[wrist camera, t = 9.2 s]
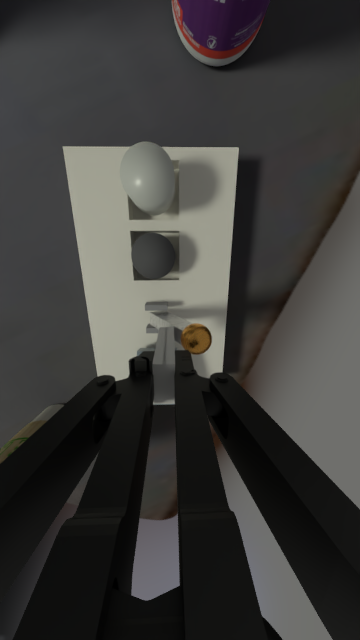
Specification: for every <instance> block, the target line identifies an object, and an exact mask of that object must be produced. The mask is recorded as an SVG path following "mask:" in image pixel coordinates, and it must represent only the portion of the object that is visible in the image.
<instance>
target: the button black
mask: <svg viewBox="0 0 360 640" xmlns="http://www.w3.org/2000/svg"><path fill="white" fill-rule="evenodd" d="M175 257H176V256H175V250H174V247H173V245H172V244H171V242H170V241H169V240H168V239H167V238H166V237H165V236H163V235H161V234H158V233H146V234H144V235H142V236H140V237H139V238H138V239H137V240H136V241H135V243H134V245H133V247H132V251H131V259H132V263H133V265H134V267H135V269H136V270H137V271H138V272H139V273H140V274H141V275H143V276H144V277H147V278H150V279H158V278H162V277H164V276H166V275H167V274H168V273H169V272H170V271H171V270H172V268H173V266H174V263H175Z"/></svg>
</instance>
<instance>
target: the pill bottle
mask: <svg viewBox="0 0 360 640" xmlns="http://www.w3.org/2000/svg"><path fill="white" fill-rule="evenodd" d="M269 3H270V0H172V10H173V16H174V21H175V25H176V28H177V31H178V34H179V36H180V39H181V41H182V42H183V44H184V46H185V47H186V49H187V50H188V51H189V53H190V54H191V55H192V56H193V57H194V58H196V59H197V60H198V61H200V62H202V63H204V64H206V65H210V66H223V65H226V64H229V63H231V62H233V61H235V60H236V59H238V58H239V57H240V56H241V55H242V54H243V53H244V52H245V51H246V50H247V49H248V47H249V46H250V45H251V43H252V42H253V40H254V39H255V37H256V35H257V33H258V31H259V29H260V27H261V24H262V21H263V19H264V16H265V14H266V11H267V8H268V5H269Z"/></svg>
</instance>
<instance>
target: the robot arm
mask: <svg viewBox="0 0 360 640" xmlns="http://www.w3.org/2000/svg"><path fill="white" fill-rule="evenodd" d="M153 402H154V404H175V426H176V462H177V498H178V534H179V570H180V571H179V572H180V586H178V587H177V588H174V589H172V590H170V591H168V592H166V593H164V594H162V595H160V596H158V597H156V598H154V599H152V600H148V601H145V600H141V599H139V598H136V597H134V596H131V589H132V572H133V563H134V556H135V548H136V541H137V533H138V525H139V518H140V510H141V502H142V495H143V487H144V480H145V472H146V464H147V457H148V449H149V442H150V434H151V426H152V419H153V411H154V408H153ZM207 415H208V417H207ZM208 419H209V421H210V423H211V425H212V426H213V428H214V430H215V432H216V433H217V435H218V437H219V439H220V441H221V442H222V444H223V446H224V448H225V449H226V451H227V453H228V455H229V457H230V459H231V460H232V462H233V464H234V465H235V467H236V469H237V471H238V473H239V474H240V476H241V478H242V480H243V481H244V484H245V485H246V487H247V489H248V490H249V492H250V494H251V496H252V498H253V499H254V501H255V503H256V505H257V507H258V508H259V510H260V512H261V514H262V516H263V517H264V519H265V521H266V523H267V525H268V526H269V528H270V530H271V532H272V533H273V535H274V537H275V539H276V541H277V543H278V544H279V546H280V548H281V550H282V551H283V553H284V555H285V557H286V559H287V560H288V562H289V564H290V566H291V568H292V569H293V571H294V573H295V575H296V576H297V578H298V580H299V582H300V584H301V585H302V587H303V589H304V591H305V593H306V594H307V596H308V598H309V600H310V601H311V603H312V605H313V607H314V608H315V610H316V612H317V614H318V616H319V617H320V619H321V621H322V622H323V624H324V626H325V627H326V629H327V631H328V632H329V634H330V636H331V637H332V639H333V640H360V509H359V508H358V507H357V506H356V505H355V504H354V503H353V502H352V501H351V500H350V499H349V498H348V497H347V496H346V495H345V494H344V493H343V492H342V491H341V490H340V489H339V488H338V487H337V485H336V484H335V483H334V482H333V481H332V480H331V479H330V478H329V477H328V476H327V475H326V474H325V473H324V472H323V471H322V470H321V469H320V468H319V467H318V466H317V465H316V464H315V463H314V462H313V461H312V460H311V458H310V457H309V456H308V455H307V454H306V453H305V452H304V451H303V450H302V449H301V448H300V447H299V446H298V445H297V444H296V443H295V442H294V441H293V440H292V439H291V438H290V437H289V436H288V435H287V433H286V432H285V431H284V430H283V429H282V428H281V427H280V426H279V425H278V424H277V423H276V422H275V421H274V420H273V419H272V418H271V417H270V416H269V415H268V414H267V413H266V412H265V411H264V410H263V409H262V408H261V406H259V404H258V403H257V402H255V400H254V399H253V398H252V397H251V396H250V395H249V394H248V393H247V392H246V391H245V390H244V389H243V388H242V387H241V386H240V385H239V384H238V383H237V382H236V381H235V379H234V378H233V377H231V376H230V375H229V374H226V373H222V372H217V373H213V374H212V375H210V378H205V377H201V376H199V375H198V374H197V371H196V370H195V369H194V366H193V361H192V356H191V353H190V352H189V351H188V350H175V345H174V327H159V332H158V337H157V343H156V348H155V351H143V352H142V353H141V354H140V355H139V356H136V357H133V358H131V359H130V360H129V376H128V378H126V379H122V380H118V381H115V377H113V376H111V375H101V376H99V377H96V378H94V379H93V380H92V381H91V382H89V383H88V384H87V385H86V386H85V387H84V388H83V389H82V390H81V391H80V392H78V393H77V394H76V395H75V396H74V397H73V398H72V399H71V400H70V401H69V402H67V403H66V404H65V405H64V406H63V407H62V408H61V409H60V410H59V411H58V412H57V413H55V414H54V415H53V416H52V417H51V418H50V419H49V420H48V421H47V422H46V423H44V424H43V425H42V426H41V427H40V428H39V429H38V430H37V431H36V432H35V433H33V434H32V435H31V436H30V437H29V438H28V439H27V440H26V441H25V442H24V443H22V444H21V445H20V446H19V447H18V448H17V449H16V450H15V451H14V452H13V453H11V454H10V455H9V456H8V457H7V458H6V459H5V460H4V461H3V462H2V463H1V464H0V602H1V601H2V599H3V598H4V596H5V595H6V593H7V592H8V590H9V589H10V587H11V586H12V584H13V583H14V581H15V579H16V578H17V576H18V575H19V573H20V572H21V570H22V569H23V567H24V565H25V564H26V563H27V561H28V560H29V558H30V556H31V555H32V553H33V552H34V550H35V549H36V547H37V546H38V544H39V542H40V541H41V540H42V538H43V536H44V535H45V533H46V532H47V530H48V529H49V527H50V526H51V524H52V522H53V521H54V520H55V518H56V517H57V515H58V514H59V512H60V510H61V509H62V507H63V506H64V504H65V503H66V501H67V500H68V498H69V497H70V495H71V494H72V492H73V490H74V489H75V487H76V486H77V484H78V483H79V481H80V480H81V478H82V477H83V475H84V474H85V472H86V471H87V469H88V467H89V466H90V464H91V463H92V461H93V460H94V458H95V457H96V455H97V454H98V452H99V454H98V457H97V459H96V462H95V464H94V467H93V470H92V472H91V475H90V477H89V480H88V482H87V485H86V488H85V490H84V493H83V495H82V498H81V501H80V503H79V506H78V508H77V511H76V513H75V515H74V516H73V517H72V518H70V519H67V520H66V521H65V522H64V524H63V525H62V526H61V528H60V530H59V532H58V535H57V536H56V539H55V541H54V544H53V546H52V548H51V551H50V553H49V556H48V558H47V560H46V563H45V565H44V567H43V569H42V572H41V574H40V577H39V579H38V581H37V584H36V586H35V588H34V591H33V593H32V595H31V598H30V600H29V603H28V605H27V607H26V610H25V612H24V614H23V617H22V619H21V622H20V624H19V626H18V629H17V631H16V633H15V636H14V638H13V640H282V638H281V637H280V636H279V634H278V633H277V632H276V631H275V630H274V628H272V626H271V625H270V624H269V623H268V622H267V620H266V619H265V618H263V617H262V615H261V611H260V607H259V604H258V600H257V596H256V592H255V588H254V584H253V580H252V576H251V572H250V568H249V564H248V561H247V557H246V553H245V549H244V545H243V541H242V537H241V533H240V529H239V526H238V522H237V519H236V516H235V514H234V512H233V511H231V510H230V509H229V506H228V503H227V498H226V494H225V490H224V485H223V482H222V477H221V472H220V468H219V464H218V460H217V455H216V451H215V447H214V442H213V438H212V434H211V430H210V425H209V421H208Z"/></svg>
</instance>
